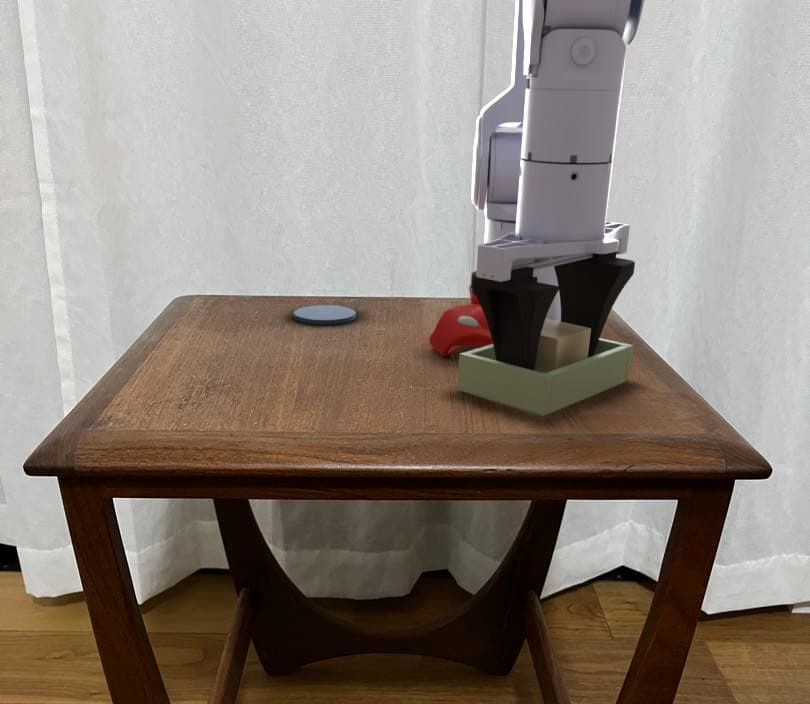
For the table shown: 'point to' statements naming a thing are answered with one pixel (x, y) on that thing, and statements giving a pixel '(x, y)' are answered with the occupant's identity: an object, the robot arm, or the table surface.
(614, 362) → the tray
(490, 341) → the red curved piece
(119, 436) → the table surface
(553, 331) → the block
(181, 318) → the table surface
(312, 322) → the pad
